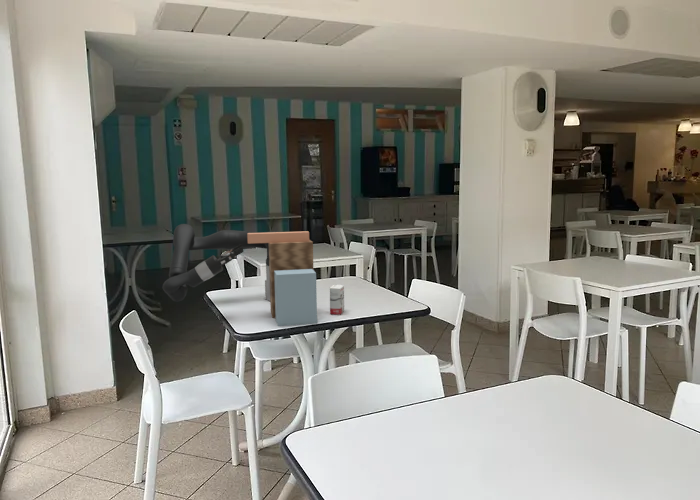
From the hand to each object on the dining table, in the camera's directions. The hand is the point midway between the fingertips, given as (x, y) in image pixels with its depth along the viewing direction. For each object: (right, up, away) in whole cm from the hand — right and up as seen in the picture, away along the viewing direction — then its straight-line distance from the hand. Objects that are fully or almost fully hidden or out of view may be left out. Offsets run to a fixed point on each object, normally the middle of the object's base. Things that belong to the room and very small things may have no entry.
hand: (242, 247), depth 233 cm
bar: (+15, +2, +3) cm, 16 cm away
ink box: (+40, -29, +11) cm, 50 cm away
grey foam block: (+23, -31, -4) cm, 39 cm away
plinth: (+20, -29, +9) cm, 36 cm away
